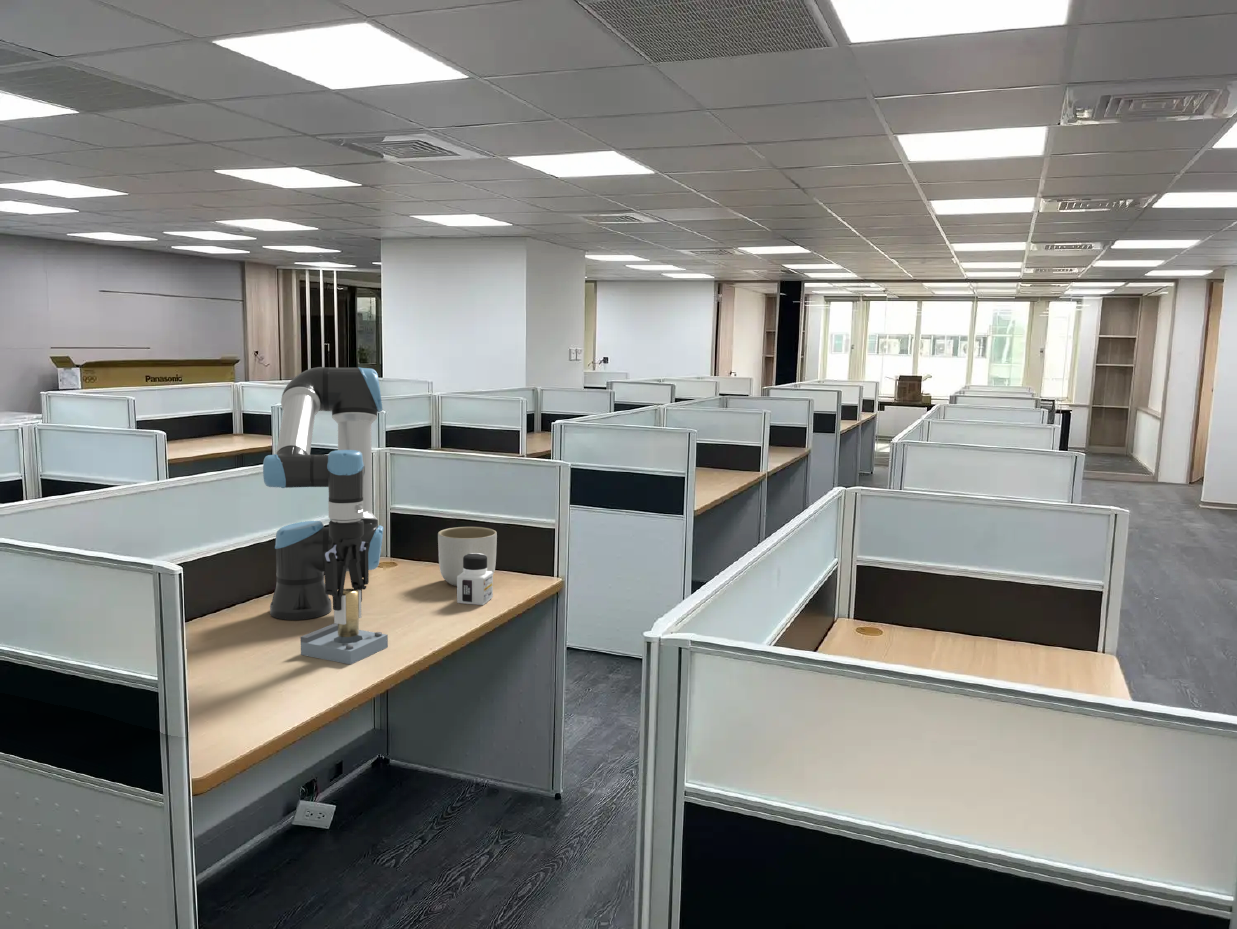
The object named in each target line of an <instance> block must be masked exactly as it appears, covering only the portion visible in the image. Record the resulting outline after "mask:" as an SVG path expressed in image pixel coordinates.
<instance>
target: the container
mask: <svg viewBox="0 0 1237 929" xmlns="http://www.w3.org/2000/svg"><path fill="white" fill-rule="evenodd" d="M463 571H464V572H463V573H461V574H460V575H458V576H457V586H456V602H457V604H465V605H466V604H467V605H477V606H484V605H485V604H487V603H488V602H490V601H491V600H492V599H493V597H494V593H493V591H494V587H493V586H494V582H493V581H494V577H493V576H494V574H493V572H492V571H487V556H486V555H484V554H481V553H470V554H467V555H465V556H464V557H463Z"/></svg>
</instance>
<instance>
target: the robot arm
mask: <svg viewBox="0 0 1237 929" xmlns="http://www.w3.org/2000/svg"><path fill="white" fill-rule="evenodd" d="M280 404H281V409H282V411H283V412H282V418H281V424H280V429H279V435H278V439H277V445H276V449H275V450H276V451H275V453H274V454H268V455H266V456H265V457H264V459H263V462H262V465H263V466H262V476H263V482H264V485H265V486H266V487H268V488H281V489H285V488H286V489H287V488H289V489H291V488H328V501H327V502H328V508H327V511H328V518H329V519H330V520H329V521H328V526H326V527H325V526H324V523H323V521H320V520H305V521H299V522H295V523H290V524H287V525H284V526H282V527H280V528H279V529H278V530H277V531H276V534H275V545H274V549H275V565H276V566H275V568H276V569H275V570H276V573H275V574H276V585H275V589H274V591H273V596H272V599H271V600H272V601H271V602H270V605H269V614H270V616H271V617H272V618H275V619H279V620H284V621H285V620H286V621H296V620H297V621H299V620H308V619H309V620H310V619H315V618H319V617H323V616H326V615H328V614H329V613H331V611H332V609H333V618H334V619H333V620H334V621H333V624H334V623H337V624H343V625H345V624H346V596H345V595H343V590H344V589H345V582H346V581H345V580H346V574H347V572H348V573H349V579H350V583H351V587H352V588H351V589H357V590H358V613H359V619H361V618H362V602H363V590H366V589H367V585H369V582H370V580H369V579H370V578H369V577H370V576H369V571H372V570H376V569H377V568H378V567H379V565H380V560H381V554H382V545H383V538H384V526H382V525H380V524H379V519H378V518H377V517H376V516H375V514H374V513H373V501H372V500H373V497H372V496H373V491H372V490H373V488H372V486H373V484H372V483H373V482H372V479H373V478H372V473H373V471H372V470H373V469H372V464H373V463H372V461H373V460H372V424H373V423H374V422H375V421H376V420H377V419H378V413H380V412H382V411H383V402H382V395H381V386H380V381H379V374H378V373H377V371H376V370H375V369H374V368H369V367H368V368H367V367H360V366H357V367H325V366H317V367H313V368H309V369H306V370H304V371H302V372H300V373H299V374H298V375H296V376H294V377H293V378H292V380H290V382H289V383H288V384H287V385H286V387H285V388H284V390H283V392H282V395H281V400H280ZM319 412H331V418H332V419H333V420H334V422H336V423H337V450H332V451H330V452H329V453H328V454H311V451H312V450H311V449H312V439H313V432H314V425H315V416H316V415H317V414H318V413H319ZM329 596H332V600H331V598H330V597H329Z"/></svg>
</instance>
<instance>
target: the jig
mask: <svg viewBox="0 0 1237 929" xmlns="http://www.w3.org/2000/svg"><path fill="white" fill-rule="evenodd" d="M388 640H389V636H388V634H385V633H383V632H381V631H376V632H373V631H369V630H363V629H359V634H358V635H356V636H353V637H340V636H338V624H337V623H334V622H333V623H331V624H329V625H327V626H324V627H322V628H319V629H317V630H314V631H311V632H308V633H306V634H304V635H302V636H300V655H301V656H306V657H311V658H314V659H315V658H316V659H321V660H326V661H331V662H337V663H341V664H347V665H353V664H355V663H357V662H359V661H361V660H363V659H366V658H368V657H370V656H372V655H375V654H377V653H379V652H381V651H383V650H385V649H387V648H388V646H389V643H388V642H389V641H388Z"/></svg>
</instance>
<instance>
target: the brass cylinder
mask: <svg viewBox="0 0 1237 929" xmlns="http://www.w3.org/2000/svg"><path fill="white" fill-rule="evenodd" d="M343 595H345V596H346V624H345V625H343V624H338V636H340V637H353V636H356V635H358V634H359V630H360V628H359V624H360V623H359V622H360V620H359V619H360V618H359V613H358V590H357V589H354V588H344V590H343Z"/></svg>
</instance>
